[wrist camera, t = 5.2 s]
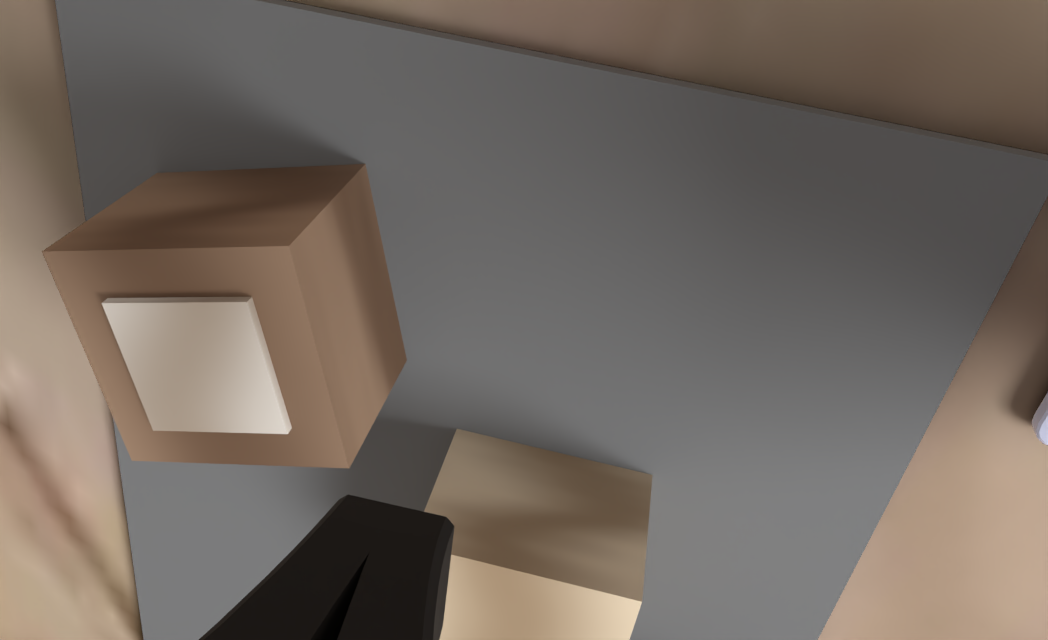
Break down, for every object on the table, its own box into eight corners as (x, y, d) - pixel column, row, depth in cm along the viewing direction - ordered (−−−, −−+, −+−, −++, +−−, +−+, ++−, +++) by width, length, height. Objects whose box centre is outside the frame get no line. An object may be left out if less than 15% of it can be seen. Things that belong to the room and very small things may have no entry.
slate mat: (1057, 156, 16) (1064, 164, 16) (716, 822, 29) (716, 834, 29) (62, -45, 18) (49, -42, 17) (155, 674, 31) (149, 683, 30)
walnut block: (365, 163, 18) (284, 251, 15) (407, 360, 21) (345, 474, 17) (156, 173, 19) (34, 256, 16) (220, 358, 22) (126, 466, 18)
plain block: (652, 474, 21) (642, 601, 18) (611, 607, 24) (595, 739, 21) (456, 428, 22) (410, 544, 18) (438, 563, 24) (395, 686, 21)
